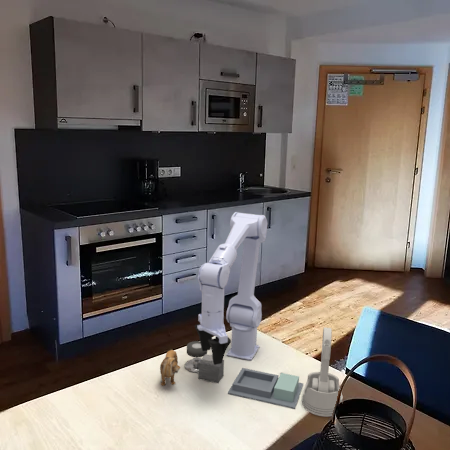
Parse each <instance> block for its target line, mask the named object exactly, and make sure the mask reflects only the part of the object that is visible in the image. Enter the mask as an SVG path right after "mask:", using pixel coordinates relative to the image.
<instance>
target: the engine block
mask: <svg viewBox="0 0 450 450" xmlns="http://www.w3.org/2000/svg"><path fill="white" fill-rule="evenodd" d="M224 368H225V359H223V361H222V363H221V364H217V365H214V363H213V358H212V354H208V353H207V354H205V355H204V356H203V357H201V360H200V362H199V365H198V373H197V374H198V375H197V376H198V377H197V378H198V380H202V381H207V382H211V383H215V384H219V383H220V382H221V381H222V379H223V378H224V372H225V371H224V370H225V369H224Z"/></svg>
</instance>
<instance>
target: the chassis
mask: <svg viewBox="0 0 450 450" xmlns="http://www.w3.org/2000/svg"><path fill="white" fill-rule="evenodd" d="M299 381H300V376H299V375H294V374H288V373H284V372H281V373H280V374H274V373H269V372H264V371H259V370H255V369H250V368H244V367H242V368H241V369H240V371H239V372H238V374H237V376H236V378H235V379H234V381H233V382H232V384H231V386H230V388H229V390H228V391H227V394H228V395H231V396H235V397H238V398H239V397H240V398H243V399H244V398H245V399H249V400H254V401H258V402H262V403H267V404H271V405H275V406H278V407H285V408H287V409H288V408H289V409H292V410H295V409H296V408H297V404H298V402H299V398H300V395H301V392H302V391H303V388H304V383H303V382H299Z"/></svg>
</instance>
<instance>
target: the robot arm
mask: <svg viewBox="0 0 450 450" xmlns="http://www.w3.org/2000/svg"><path fill="white" fill-rule="evenodd" d="M229 229H230V232H229V234H228V235H227V238H226V240H225V242H224V243H221V244H219V245H218V246H217V248H216V249H215V251H214V252H213V253H212V256H211V257H210V259H209V261H208V262H205V263H203V264H202V265H200V267H199V269H198V274H197V275H198V276H197V282H198V284H199V291H200V292H201V313H199V314H198V316H197V317H198V320H197V321H198V322H199V323H197V324H194V328H195V330H196V332H197V335H198V338H199V341H200V343H201V348H202V350H203V351H207V352H208V351H211V355H212V358H213V363H214V365H217V364H221V363H222V361H223V360H224V358H225V355H226V356H228V357H231V358H232V357H233V358H238V359H243V360H247V361H252V360H253V358H254V356H255V355H256V353H257V352H258V350H259V348H260V345H257V341H258V340H257V335H258V327H259V326H260V325H261V321H262V319H263V318H262V316H263V314H262V313H263V312H262V306H263V305H262V302H261V301H259V300H258V299H257V298H256V296H255V286H256V279H257V270H258V262H259V261H258V260H259V255H260V254H259V252H260V246H261V244H262V243H264V242H266V238H267V233H268V220H267V217H266V216H265V215H264V214H253V213H245V212H240V211H235V212H233V214H232V215H231V217H230V221H229ZM241 244H243V247H242V255H241V256H242V257H241V264H240V273H239V281H238V290H237V294H236V295H235V296H232V297H231V298H230V299H229V301H228V307H227V310H226V312H225V311H224V310H225V309H224V308H225V287H226V286H227V285H228V281H229V278H230V277H229V276H230V274H231V269H232V266H233V264H234V262H235V261H236V260H237V258H238V253H237V252H238V251H237V250H238V248H239V247H240V245H241ZM224 312H225V313H226V314H225V316H224ZM224 319H226V321H227V323H229V327H231V338H230V337H229V335H228V334H227V333H226V332H227V331H226V326H225V324H224ZM213 336H214V337H215V338H213ZM229 345H231V346H230V348H229V350H228V351H227V349H228V347H229ZM226 351H227V352H226ZM225 353H226V354H225Z"/></svg>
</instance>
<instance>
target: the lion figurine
mask: <svg viewBox="0 0 450 450" xmlns="http://www.w3.org/2000/svg"><path fill="white" fill-rule="evenodd" d="M178 363H179V362H178V353H177V351H176V350H173V349H170V350H168V351H167V352H166V354H165V357H164V358H163V359H162V362H161V363H160V366H159V367H160V368H159V369H160V371H159V372H160V377H161V382H160V385H161V386H163V387H165V386H166V383H167V382H166V378H167V379H169V378H170V380H169V382H170V385H172V386H173V385H176V382H175V373H176V374H178V372H179V370H180V369H181V366H180V365H178Z"/></svg>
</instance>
